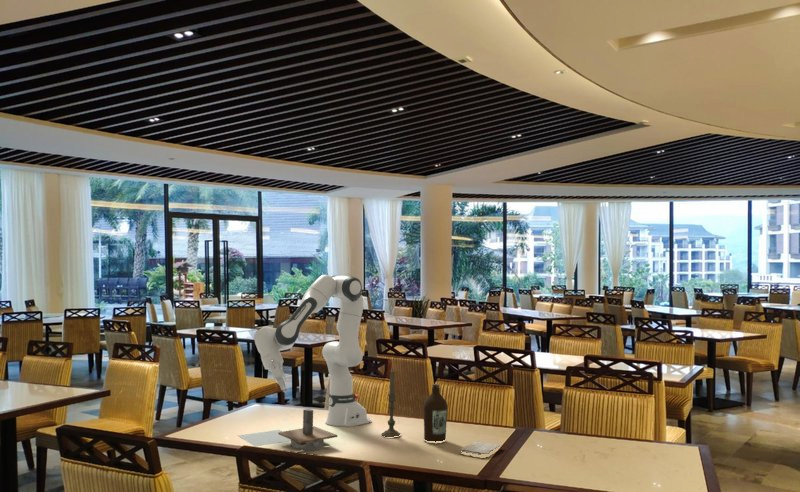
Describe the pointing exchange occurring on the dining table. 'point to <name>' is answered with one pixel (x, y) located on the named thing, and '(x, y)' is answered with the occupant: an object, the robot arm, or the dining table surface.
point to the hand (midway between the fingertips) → (284, 390)
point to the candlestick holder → (391, 408)
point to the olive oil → (435, 416)
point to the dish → (308, 445)
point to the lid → (307, 431)
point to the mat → (264, 438)
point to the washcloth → (480, 448)
